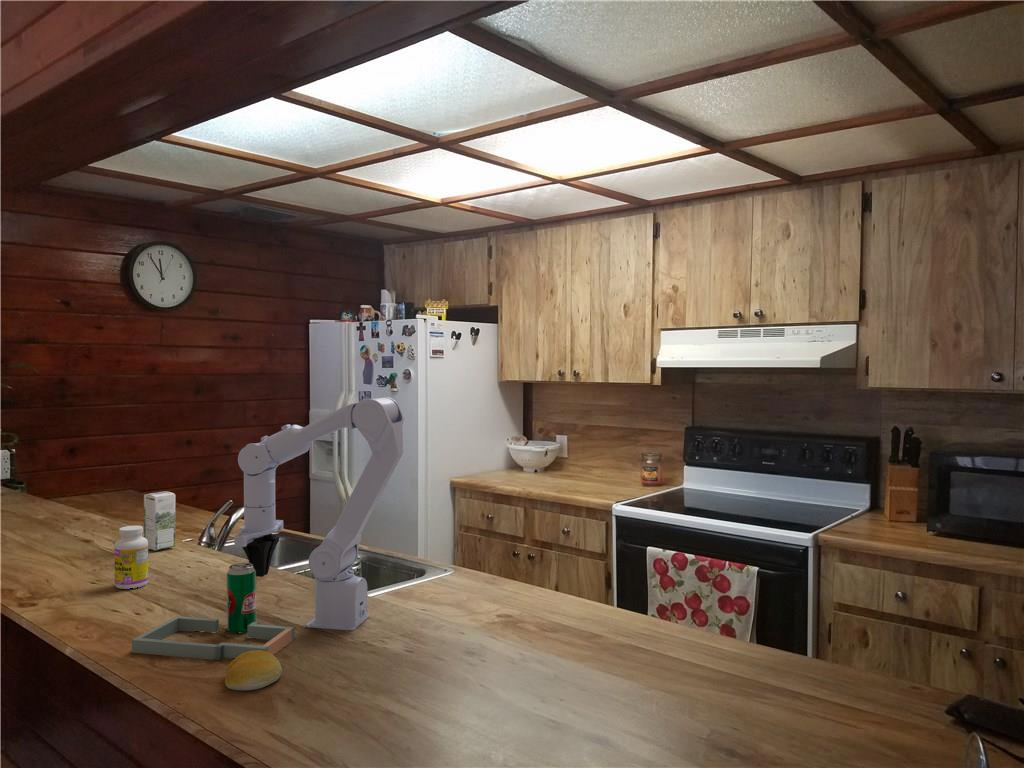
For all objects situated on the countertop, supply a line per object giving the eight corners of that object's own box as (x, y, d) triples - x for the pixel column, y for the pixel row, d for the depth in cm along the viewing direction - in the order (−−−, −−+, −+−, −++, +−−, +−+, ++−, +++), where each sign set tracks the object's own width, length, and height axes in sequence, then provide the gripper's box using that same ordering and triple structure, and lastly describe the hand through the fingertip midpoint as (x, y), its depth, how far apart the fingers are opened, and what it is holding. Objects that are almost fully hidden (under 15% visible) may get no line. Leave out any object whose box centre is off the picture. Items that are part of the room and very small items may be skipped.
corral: (297, 639, 133) (296, 625, 132) (261, 666, 121) (261, 650, 121) (177, 629, 137) (177, 615, 137) (132, 654, 125) (131, 639, 125)
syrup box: (164, 543, 202) (163, 490, 201) (176, 546, 198) (175, 492, 198) (143, 547, 197) (143, 493, 197) (155, 551, 194) (154, 495, 193)
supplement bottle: (107, 587, 162) (106, 529, 162) (133, 579, 168) (132, 523, 168) (130, 591, 160) (129, 532, 159) (155, 583, 166) (154, 525, 166)
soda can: (247, 636, 134) (246, 570, 134) (221, 634, 135) (220, 568, 134) (261, 626, 139) (261, 562, 138) (237, 624, 140) (236, 561, 139)
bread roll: (224, 696, 109) (223, 669, 109) (226, 674, 117) (225, 649, 117) (283, 687, 112) (281, 660, 111) (281, 666, 120) (280, 641, 120)
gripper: (260, 497, 150) (261, 563, 151) (219, 511, 136) (219, 584, 137) (292, 498, 149) (293, 565, 149) (254, 513, 135) (254, 587, 135)
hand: (260, 575), depth 143 cm, fingers closed
